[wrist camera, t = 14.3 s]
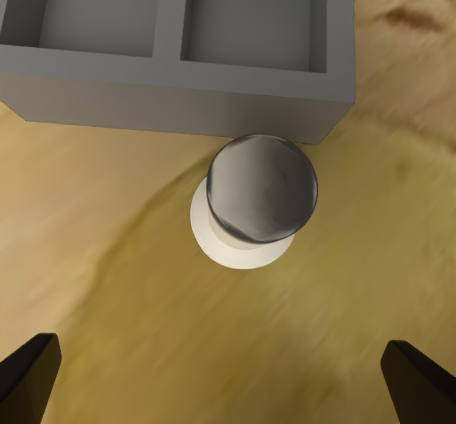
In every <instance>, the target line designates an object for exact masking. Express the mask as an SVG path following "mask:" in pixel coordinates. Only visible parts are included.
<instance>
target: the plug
mask: <svg viewBox="0 0 456 424" xmlns="http://www.w3.org/2000/svg"><path fill="white" fill-rule="evenodd" d="M317 197H318V183H317V177H316V174H315V171H314V168H313V166H312V164H311V162H310V161H309V159H308V158H307V156H306V155H305V154H304V153H303V151H301V150H300V149H299V148H298V147H297V146H296V145H294V144H293V143H292V142H290V141H288V140H286V139H284V138H282V137H279V136H276V135H272V134H266V133H255V134H248V135H244V136H241V137H239V138H236V139H235V140H233V141H231V142H229V143H228V144H227V145H225V146H224V147H223V148H222V149H221V150H220V151H219V152H218V154H217V155H216V156H215V158H214V159H213V161H212V163H211V165H210V167H209V171H208V174H207V177H206V178H205V179H204V180H203V181H202V182H201V183H200V185H199V186H198V188H197V190H196V192H195V194H194V196H193V200H192V203H191V209H190V220H191V226H192V230H193V233H194V235H195V238H196V240H197V242H198V244H199V245H200V247H201V249H202V250H203V251H204V253H205V254H206V255H207V256H208V257H209V258H211V259H212V260H213V261H215V262H217V263H218V264H220V265H223V266H225V267H229V268H235V269H253V268H258V267H262V266H264V265H267V264H269V263H271V262H273V261H274V260H276V259H277V258H278V257H280V256H281V255H282V254H283V253H284V252H285V251H286V250H287V248H288V247H289V245H290V244H291V242H292V240H293V238H294V236H295V233H296V232H297V231H298V230H300V229H301V228H302V227H303V226H304V225H305V224H306V223H307V221H308V220H309V218H310V217H311V215H312V213H313V211H314V208H315V206H316V202H317Z"/></svg>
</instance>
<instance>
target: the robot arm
mask: <svg viewBox="0 0 456 424" xmlns="http://www.w3.org/2000/svg"><path fill="white" fill-rule="evenodd" d="M61 358H62V355H61V350H60V345H59V340H58V336H57V334H56V333H39V334H37V335H35V336H34V337H33V338H31V339H30V340H29V341H27V342H26V343H25V344H24V345H22V346H21V347H20V348H18V349H17V350H16V351H14V352H13V353H12V354H10V355H9V356H8V357H7V358H5V359H4V360H3V361H1V362H0V424H40V423H41V420H42V418H43V415H44V412H45V409H46V406H47V403H48V400H49V397H50V394H51V391H52V388H53V385H54V382H55V379H56V376H57V373H58V370H59V367H60V364H61ZM380 363H381V369H382V372H383V375H384V378H385V381H386V384H387V387H388V390H389V393H390V396H391V399H392V401H393V404H394V407H395V410H396V413H397V416H398V419H399V421H400V424H456V377H454V376H453V375H452V374H450V373H449V372H447V371H446V370H445V369H443V368H442V367H441V366H439V365H438V364H437V363H435V362H434V361H433V360H431V359H430V358H429V357H427V356H426V355H425V354H423V353H422V352H420V351H419V350H418V349H416V348H415V347H414V346H412V345H411V344H410V343H408V342H407V341H404V340H390V341H389V342H388V344H387V346H386V348H385V351H384V353H383V355H382V358H381V362H380Z"/></svg>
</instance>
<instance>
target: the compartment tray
mask: <svg viewBox="0 0 456 424" xmlns="http://www.w3.org/2000/svg"><path fill="white" fill-rule="evenodd" d="M0 101H1V102H3V103H4V104H5V105H6V106H8V107H9V108H10V109H12V110H13V111H14V112H15V113H17V114H18V115H19V116H20V117H22V118H23V119H24V120H25V121H32V122H44V123H57V124H70V125H82V126H95V127H107V128H120V129H133V130H145V131H158V132H170V133H183V134H196V135H208V136H221V137H233V138H239V137H241V136H244V135H248V134H255V133H266V134H272V135H276V136H279V137H282V138H284V139H286V140H288V141H290V142H297V143H309V144H319V143H320V142H321V141H322V140H323V139H324V138H325V136H326V135H327V134H328V133H329V132H330V131H331V130H332V129H333V127H334V126H335V125H336V124H337V123H338V122H339V121H340V119H341V118H342V117H343V116H344V115H345V114H346V113H347V111H348V110H349V109H350V108H351V107H352V106H353V105H354V104H355V46H354V0H0Z"/></svg>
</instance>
